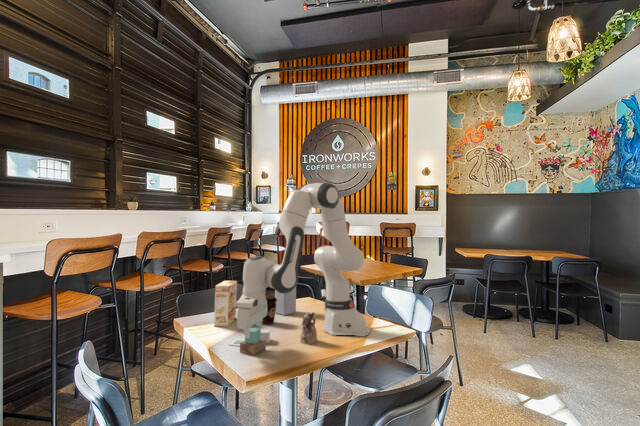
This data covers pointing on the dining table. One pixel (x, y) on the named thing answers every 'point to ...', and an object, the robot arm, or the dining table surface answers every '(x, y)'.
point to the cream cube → (265, 335)
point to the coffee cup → (270, 310)
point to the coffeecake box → (225, 303)
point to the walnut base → (253, 347)
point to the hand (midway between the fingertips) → (253, 333)
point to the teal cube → (254, 336)
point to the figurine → (308, 329)
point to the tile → (236, 342)
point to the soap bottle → (286, 302)
